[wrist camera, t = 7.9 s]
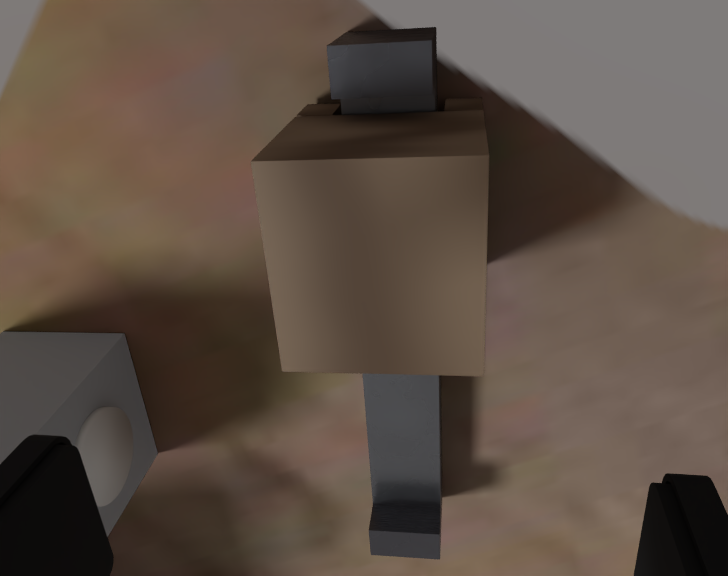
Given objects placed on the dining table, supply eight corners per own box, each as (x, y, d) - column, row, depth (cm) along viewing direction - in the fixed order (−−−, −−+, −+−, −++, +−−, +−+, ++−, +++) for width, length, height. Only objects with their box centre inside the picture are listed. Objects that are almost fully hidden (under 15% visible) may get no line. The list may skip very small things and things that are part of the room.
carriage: (481, 97, 22) (489, 155, 15) (478, 271, 24) (483, 376, 18) (307, 104, 22) (250, 161, 16) (324, 271, 25) (282, 371, 19)
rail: (436, 27, 21) (431, 40, 18) (442, 498, 31) (439, 559, 28) (346, 32, 21) (326, 46, 18) (379, 495, 31) (370, 554, 28)
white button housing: (132, 333, 28) (-14, 503, 20) (165, 454, 32) (52, 646, 23) (2, 331, 29) (-192, 492, 21) (47, 448, 33) (-105, 631, 24)
